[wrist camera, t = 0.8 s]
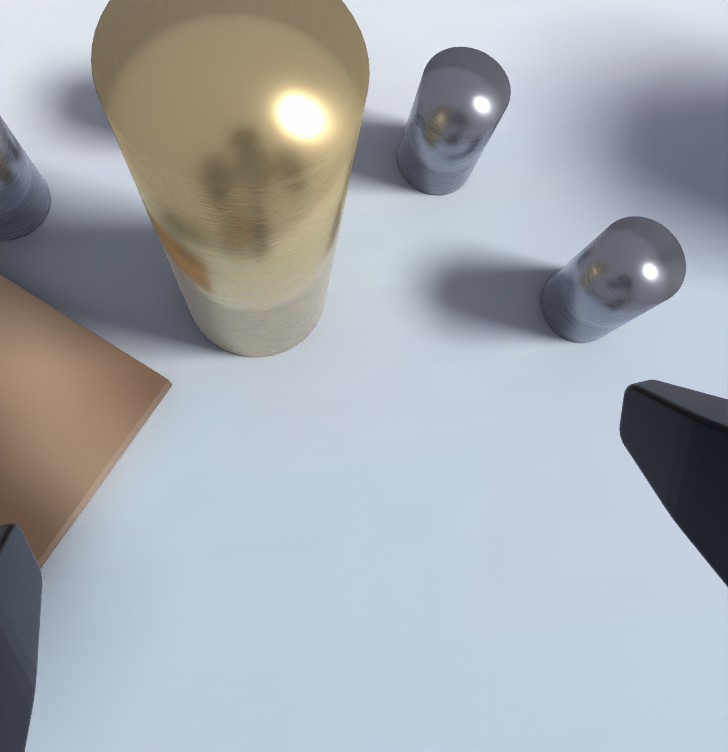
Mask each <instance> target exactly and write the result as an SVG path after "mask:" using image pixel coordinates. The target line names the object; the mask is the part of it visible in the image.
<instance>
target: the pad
mask: <svg viewBox="0 0 728 752" xmlns="http://www.w3.org/2000/svg"><path fill="white" fill-rule="evenodd" d="M171 386H172V384H171V383H170V381H169V380H168V379H166V378H165V377H163V376H162V375H160V374H158V373H157V372H155V371H154V370H152V369H150V368H149V367H147V366H146V365H144V364H142V363H141V362H139V361H138V360H136V359H134V358H133V357H131V356H130V355H128V354H126V353H125V352H123V351H122V350H120V349H118V348H117V347H115V346H114V345H112V344H110V343H109V342H107V341H106V340H104V339H102V338H101V337H99V336H98V335H96V334H94V333H93V332H91V331H90V330H88V329H86V328H85V327H83V326H82V325H80V324H78V323H77V322H75V321H74V320H72V319H70V318H69V317H67V316H66V315H64V314H62V313H61V312H59V311H58V310H56V309H54V308H53V307H51V306H50V305H48V304H46V303H45V302H43V301H42V300H40V299H39V298H37V297H35V296H34V295H32V294H31V293H29V292H27V291H26V290H24V289H23V288H21V287H19V286H18V285H16V284H15V283H13V282H11V281H10V280H8V279H7V278H5V277H3V276H2V275H0V525H4V524H9V523H14V524H16V525H18V526H19V527H20V528H21V529H22V531H23V533H24V535H25V537H26V539H27V542H28V544H29V546H30V548H31V550H32V552H33V554H34V556H35V558H36V561H37V563H38V565H39V567H40V568H41V567H42V565H43V564H44V563H45V561H46V560H47V558H48V557H49V556H50V554H51V553H52V551H53V550H54V549H55V547H56V546H57V545H58V543H59V542H60V540H61V539H62V538H63V536H64V535H65V533H66V532H67V531H68V529H69V528H70V526H71V525H72V524H73V522H74V521H75V519H76V518H77V517H78V515H79V514H80V512H81V511H82V510H83V508H84V507H85V506H86V504H87V503H88V501H89V500H90V499H91V497H92V496H93V494H94V493H95V492H96V490H97V489H98V487H99V486H100V485H101V483H102V482H103V480H104V479H105V478H106V476H107V475H108V474H109V472H110V471H111V469H112V468H113V467H114V465H115V464H116V462H117V461H118V460H119V458H120V457H121V455H122V454H123V453H124V451H125V450H126V448H127V447H128V446H129V444H130V443H131V442H132V440H133V439H134V437H135V436H136V435H137V433H138V432H139V430H140V429H141V428H142V426H143V425H144V423H145V422H146V421H147V419H148V418H149V416H150V415H151V414H152V412H153V411H154V409H155V408H156V407H157V405H158V404H159V403H160V401H161V400H162V398H163V397H164V396H165V394H166V393H167V391H168V390H169V389H170V387H171Z"/></svg>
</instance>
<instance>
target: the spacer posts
mask: <svg viewBox="0 0 728 752" xmlns="http://www.w3.org/2000/svg"><path fill="white" fill-rule="evenodd" d="M510 93H511V90H510V83H509V80H508V77H507V75H506V73H505V71H504V70H503V68H502V67H501V66H500V65H499V64H498V62H497V61H495V60H494V59H493V58H492V57H490V56H489V55H487V54H486V53H484V52H482V51H479V50H477V49H473V48H468V47H453V48H449V49H445V50H443V51H441V52H439V53H438V54H436V55H435V56H434V57H432V58H431V60H430V61H429V62H428V64H427V65H426V67H425V70H424V73H423V76H422V79H421V82H420V85H419V88H418V91H417V94H416V97H415V101H414V104H413V107H412V110H411V113H410V116H409V119H408V122H407V125H406V128H405V132H404V135H403V138H402V141H401V144H400V147H399V151H398V165H399V168H400V171H401V173H402V175H403V176H404V178H405V179H406V180H407V181H408V183H410V184H411V185H412V186H413V187H415V188H416V189H418V190H420V191H422V192H424V193H427V194H432V195H445V194H449V193H452V192H454V191H456V190H458V189H459V188H460V187H461V186H462V185H463V184H464V183H465V182H466V181H467V179H468V177H469V175H470V173H471V172H472V170H473V168H474V166H475V164H476V163H477V161H478V159H479V157H480V155H481V153H482V152H483V150H484V148H485V146H486V144H487V143H488V141H489V139H490V137H491V135H492V133H493V132H494V130H495V128H496V126H497V124H498V123H499V121H500V119H501V117H502V115H503V113H504V112H505V110H506V108H507V106H508V104H509V101H510ZM50 201H51V198H50V191H49V188H48V186H47V184H46V182H45V180H44V179H43V178H42V176H41V175H40V173H39V172H38V170H37V169H36V167H35V166H34V164H33V163H32V162H31V160H30V159H29V157H28V156H27V154H26V153H25V151H24V150H23V148H22V147H21V145H20V144H19V143H18V141H17V140H16V138H15V137H14V135H13V134H12V132H11V131H10V129H9V128H8V127H7V125H6V124H5V122H4V121H3V119H2V118H1V116H0V240H8V239H15V238H19V237H22V236H24V235H26V234H28V233H30V232H32V231H33V230H35V229H36V228H37V227H38V226H39V225H40V224H41V223H42V222H43V220H44V219H45V217H46V216H47V214H48V211H49V208H50ZM685 273H686V262H685V256H684V253H683V250H682V248H681V246H680V244H679V242H678V241H677V239H676V238H675V236H674V235H673V234H672V233H671V232H670V231H669V230H668V229H667V228H665V227H664V226H663V225H661V224H659V223H658V222H656V221H653V220H651V219H648V218H644V217H627V218H623V219H620V220H618V221H616V222H614V223H613V224H611V225H610V226H609V227H608V228H607V229H606V230H605V231H603V232H602V233H601V234H600V235H599V236H598V237H597V238H596V239H594V240H593V241H592V242H591V243H590V244H589V245H588V246H587V247H586V248H584V249H583V250H582V251H581V252H580V253H579V254H578V255H577V256H576V257H574V258H573V259H572V260H571V261H570V262H569V263H568V264H567V265H565V266H564V267H563V268H562V269H561V270H560V271H559V272H558V273H557V274H555V275H554V276H553V277H552V278H551V279H550V280H549V281H548V283H547V284H546V286H545V288H544V291H543V294H542V309H543V313H544V316H545V318H546V320H547V322H548V323H549V325H550V326H551V327H552V329H553V330H554V331H555V332H556V333H558V334H559V335H560V336H562V337H564V338H565V339H568V340H570V341H574V342H580V343H586V342H592V341H595V340H597V339H599V338H601V337H603V336H604V335H606V334H608V333H610V332H611V331H613V330H615V329H617V328H618V327H620V326H622V325H624V324H625V323H627V322H629V321H631V320H632V319H634V318H636V317H638V316H639V315H641V314H643V313H645V312H646V311H648V310H650V309H652V308H653V307H655V306H657V305H659V304H660V303H662V302H664V301H666V300H667V299H669V298H670V297H672V296H673V295H674V294H675V293H676V292H677V291H678V290H679V289H680V287H681V285H682V283H683V281H684V278H685Z"/></svg>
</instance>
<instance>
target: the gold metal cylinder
mask: <svg viewBox="0 0 728 752" xmlns="http://www.w3.org/2000/svg"><path fill="white" fill-rule="evenodd" d="M91 65H92V75H93V80H94V84H95V88H96V92H97V95H98V97H99V99H100V102H101V104H102V106H103V109H104V111H105V113H106V116H107V118H108V120H109V123H110V125H111V128H112V130H113V132H114V135H115V137H116V139H117V142H118V144H119V146H120V149H121V151H122V153H123V156H124V158H125V160H126V163H127V165H128V168H129V170H130V172H131V175H132V177H133V179H134V182H135V184H136V186H137V189H138V191H139V193H140V196H141V198H142V201H143V203H144V205H145V208H146V210H147V212H148V215H149V217H150V219H151V222H152V224H153V226H154V229H155V231H156V234H157V236H158V238H159V241H160V243H161V245H162V248H163V250H164V252H165V255H166V257H167V259H168V262H169V264H170V267H171V269H172V271H173V274H174V276H175V278H176V281H177V283H178V285H179V288H180V290H181V292H182V295H183V297H184V300H185V302H186V304H187V307H188V309H189V311H190V314H191V316H192V318H193V320H194V322H195V324H196V325H197V327H198V328H199V330H200V331H201V332H202V333H203V335H205V336H206V337H207V338H208V339H209V340H210V341H211V342H213V343H214V344H215V345H217V346H218V347H220V348H222V349H224V350H226V351H228V352H231V353H234V354H237V355H241V356H248V357H265V356H272V355H275V354H279V353H282V352H284V351H287V350H289V349H291V348H292V347H294V346H296V345H297V344H299V343H300V342H301V341H303V340H304V339H305V338H306V337H307V336H308V335H309V334H310V332H311V331H312V330H313V329H314V327H315V326H316V324H317V322H318V320H319V318H320V316H321V313H322V310H323V306H324V302H325V297H326V292H327V287H328V282H329V277H330V273H331V268H332V263H333V258H334V253H335V248H336V243H337V239H338V234H339V229H340V224H341V219H342V214H343V209H344V204H345V200H346V195H347V190H348V185H349V180H350V175H351V170H352V166H353V161H354V156H355V151H356V146H357V141H358V136H359V132H360V127H361V122H362V117H363V112H364V107H365V102H366V97H367V93H368V85H369V59H368V54H367V49H366V45H365V42H364V39H363V36H362V33H361V30H360V29H359V27H358V25H357V23H356V21H355V19H354V17H353V15H352V14H351V13H350V11H349V10H348V8H347V7H346V5H345V4H344V3H343V2H342V0H110V1H109V2H108V4H107V6H106V8H105V9H104V11H103V13H102V15H101V17H100V19H99V22H98V24H97V27H96V30H95V34H94V38H93V43H92V54H91Z"/></svg>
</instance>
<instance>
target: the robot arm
mask: <svg viewBox="0 0 728 752" xmlns="http://www.w3.org/2000/svg"><path fill="white" fill-rule="evenodd" d="M620 436H621V439H622V442H623V444H624V445H625V447H626V449H627V450H628V452H629V453H630V455H631V456H632V458H633V459H634V461H635V462H636V464H637V465H638V467H639V468H640V470H641V471H642V473H643V475H644V476H645V478H646V479H647V481H648V482H649V484H650V485H651V487H652V488H653V490H654V491H655V493H656V494H657V496H658V498H659V499H660V501H661V502H662V504H663V505H664V507H665V508H666V510H667V511H668V512H669V514H670V515H671V517H672V518H673V520H674V521H675V522H676V523H677V525H678V526H679V527H680V529H681V530H682V531H683V533H684V534H685V535H686V536H687V537H688V539H689V540H690V541H691V542H692V544H693V545H694V546H695V547H696V549H697V550H698V551H699V552H700V553H701V555H702V556H703V557H704V558H705V560H706V561H707V562H708V563H709V565H710V566H711V567H712V568H713V569H714V571H715V572H716V573H717V574H718V576H719V577H720V578H721V579H722V581H723V582H724V583H725V584H726V586H727V587H728V399H724V398H720V397H716V396H713V395H709V394H705V393H702V392H698V391H694V390H690V389H687V388H683V387H679V386H676V385H672V384H668V383H665V382H661V381H657V380H648V381H643V382H639V383H634V384H631V385H629V386H628V387H627V388H626V390H625V393H624V398H623V406H622V413H621V420H620ZM41 594H42V576H41V571H40V567H39V565H38V563H37V561H36V558H35V556H34V554H33V552H32V550H31V548H30V546H29V544H28V542H27V539H26V537H25V535H24V533H23V531H22V529H21V528H20V527H19V526H18V525H16V524H14V523H9V524H4V525H0V752H25V746H26V741H27V735H28V730H29V725H30V719H31V714H32V708H33V701H34V695H35V687H36V676H37V661H38V644H39V628H40V611H41Z"/></svg>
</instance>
